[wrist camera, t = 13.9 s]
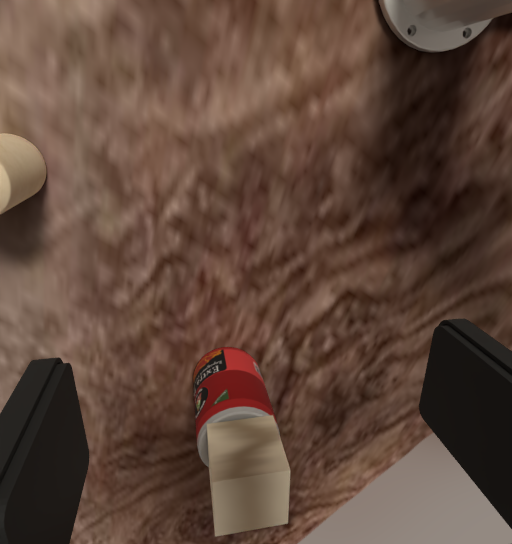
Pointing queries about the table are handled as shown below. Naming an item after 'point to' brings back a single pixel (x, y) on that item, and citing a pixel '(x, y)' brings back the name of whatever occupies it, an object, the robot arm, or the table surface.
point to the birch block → (247, 475)
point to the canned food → (227, 392)
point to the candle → (19, 170)
